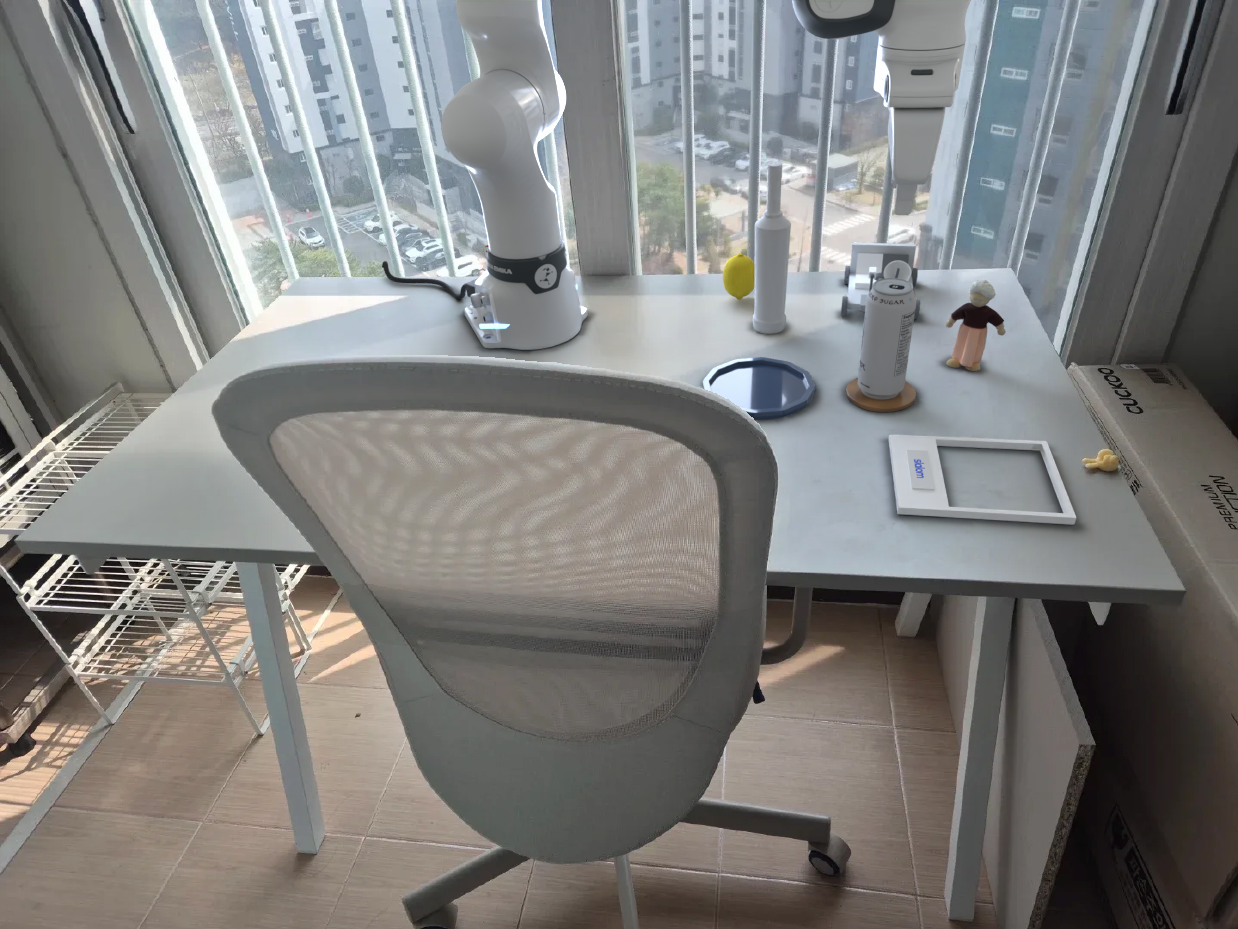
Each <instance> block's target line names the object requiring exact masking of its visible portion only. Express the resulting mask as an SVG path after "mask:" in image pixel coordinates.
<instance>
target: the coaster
mask: <svg viewBox="0 0 1238 929" xmlns="http://www.w3.org/2000/svg"><path fill="white" fill-rule="evenodd" d="M857 383H858V377H855V378H854V379H852V380H850V382H849V383H848V384H847V386H846V388H845V396H846V398H847V399H848V401H849V402H851V403H852V404H853V405H855V406H856V407H858V408H861V409H863V410H867V411H871V412H875V413H893V412H898V411H899V412H900V411H902V410H905V409H907V408H909V407H911V406H912V405H913V404H914V402H915V401H916V397H917V392H916V389H915V387H914V386H913V385H912V384H911V383H910V382H908V381H906V380H905V385H904V388H903V390H902V391H900V392H899V394H898V395H897V396H896V397H894V398H891V399H886V400H879V399H873V398H870V397H867V396H866V395H864V394H863V393H862V391H861V389H860V387H859V386H858V384H857Z"/></svg>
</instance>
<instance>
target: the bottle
mask: <svg viewBox="0 0 1238 929" xmlns="http://www.w3.org/2000/svg"><path fill="white" fill-rule="evenodd" d="M766 170H767V172H766V178H767V181H766V182H767V184H766V209H765V210H764V211H763V214H762V216H761V217H760V218H759V219H757V220H756V222H754V264H755V287H754V312H753V313H754V314H753V315H752V326H753V329H754V331H756V332H758V333H761V334H768V335H771V334H778V333H780V332H782V331H784V329H785V327H786V323H787V315H786V300H787V299H786V298H787V288H788V287H787V286H788V271H789V259H790V258H789V257H790V243H791V229H792V223H791V221H790V220H789V218H787V217H786V216H785V215H783V214H784V212H783V211H782V210H781V205H782V204H781V203H782V202H781V200H782V178H783V162H780V161H772V162H768V163H767V169H766Z"/></svg>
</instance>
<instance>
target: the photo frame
mask: <svg viewBox="0 0 1238 929" xmlns="http://www.w3.org/2000/svg"><path fill="white" fill-rule="evenodd" d="M939 446H940V447H957V448H960V447H961V448H979V449H999V450H1000V449H1001V450H1003V449H1004V450H1021V451H1023V450H1024V451H1039V452H1040V454H1041V457H1042V460H1043V462H1044V465H1045V467H1046V470H1047V473H1048V476H1049V478H1050V481H1051V485H1052V487H1053V489H1054V492H1055V495H1056V497H1057V500H1058V503H1059V505H1060V508H1061V511H1062V512H1061V513H1059V512H1047V511H1046V512H1044V511H1030V510H1029V511H1027V510H1014V509H1013V510H1010V509H993V508H977V507H976V508H975V507H959V506H950V505H949V499H948V495H947V489H946V485H945V480H944V474H943V470H942V464H941V460H940V459H941V458H940V455H939V450H938V447H939ZM888 447H889V448H888V449H889V455H890V456H889V457H890V463H891V464H890V465H891V471H892V481H893V489H894V496H895V497H894V498H895V505H896V511H897V513H896V514H897V515H907V516H908V515H909V516H923V517H941V518H954V519H955V518H956V519H973V520H974V519H975V520H989V521H990V520H991V521H1005V522H1006V521H1008V522H1021V523H1023V522H1024V523H1040V524H1056V525H1071V526H1073V525H1075V524H1076V522H1077V516H1076V513H1075V511H1074V507H1073V505H1072V503H1071V500H1070V497H1069V495H1068V492H1067V490H1066V487H1065V485H1064V482H1063V479H1062V478H1061V474H1060V472H1059V469H1058V467H1057V464H1056V462H1055V459H1054V456H1053V454H1052V452H1051V449H1050V446H1049V444H1048V441H1047V440H1028V439H1026V440H1025V439H1004V438H1003V439H1002V438H983V437H982V438H980V437H958V436H957V437H956V436H936V435H935V436H934V435H911V434H889V435H888Z"/></svg>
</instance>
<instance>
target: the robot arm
mask: <svg viewBox="0 0 1238 929" xmlns="http://www.w3.org/2000/svg"><path fill="white" fill-rule="evenodd" d="M971 1H972V0H791V2H792V8H793V11H794V13H795V14H794V15H795V17H796V18H797V20H798V22H799V24H800V25H801V26H802V28H804V29H805V30H806V31H807V32H808V33H810V34H811V35H813V36H815V37H817V38H820V39H825V40H833V41H834V40H836V41H837V40H844V39H848V38H851V37H853V36H859V35H864V34H867V33H874V34H877V36H878V41H877V42H878V43H877V49H876V50H877V51H876V52H877V53H876V60H875V61H876V62H875V70H874V79H873V90H874V92H875V93H878V94H879V95H880V96H881V97H882V98H883V102H882V103H883V106H884V107H885V108H886V109H888V113H889V116H888V123H887V140H888V148H889V157H890V165H891V166H890V167H891V181H890V183H891V186H892V188H893V189H896V190H895V198H894V211H893V212H894V214H895V215H897V216H909V215H910V214H911V213H912V208H913V204H914V198H915V195H916V192H917V189H918V185H921V186H922V185H926V184H927V183H928V181H929V178H930V176H931V173H932V171H933V167H934V163H935V159H936V156H937V151H938V148H939V142H940V138H941V134H942V131H943V130H942V129H943V126H944V120H945V114H946V108H951V107H952V106H953V104H954V100H955V93H956V91H958V89H959V85H960V77H961V71H962V66H963V59H964V54H965V47H966V40H967V34H966V33H967V32H966V23H965V22H966V15H967V12H968V9H969V5H970V4H971ZM454 2H455V9H456V12H455V13H456V17H457V20H458V23H459V25H460V26H461V28H462V29H463V30H464V31H465V32H466V33H467V35H468V37H469V39H470V41H471V43H472V46H473V49H474V52H475V55H476V59H477V62H478V66H479V77H478V78H476V79H474V80H471V81H469V82H468V83H466V84H463V86H461V88H459V90H457V92H456V93H455V94H454V95H453V96H452V98H451V99H450V100H449V102H448V103H447V105H446V106H445V108H444V110H443V112H442V116H441V121H440V122H441V123H440V126H441V127H440V129H441V134H442V135H441V136H442V138H443V142H444V144H445V146H446V148H447V150H448V151H449V152H450V154H451V155H452V156H453V158H455V159H456V160H457V162H459V163H460V164H462V165H463V166H465V168H466V170H467V171H468V174H469V175H470V177H471V181H472V182H473V184H474V187H475V190H476V192H477V195H478V198H479V201H480V205H481V209H482V210H481V211H482V215H483V222H484V227H485V232H486V238H487V243H488V244H487V245H485V248H487V250H485V253H486V256H485V259H486V260H485V262H486V270H485V271H484V272H483V273H482V274H481V275H480V276H479V277H477V278H474V279H473V280H470V281H467V282H465V283H463V285H462V286H461V287H460V292H459V293H458V292H456V290H454V288H452V287H451V285H449V283H446V282H445V281H442V280H440V279H436V278H426V277H425V278H423V277H421V278H416V277H415V278H414V277H413V278H411V277H410V278H406V277H397V276H394V275H393V274H392V273H391V272H390V268H389V263H388V261H387V260H384V261H383V262H382V264H381V268H382V269H383V271H384V274H385V276H386V277H387V279H389V280H390V281H392V282H395V283H398V284H411V285H412V284H413V285H414V284H417V285H418V284H421V285H422V284H425V285H426V284H428V285H436V286H439V287H442V288H443V289H445V290H446V292H448V293H449V294H450V295H451V296H453V297H454V298H455V299H458V300H462V299H464V298H466V296H467V297H468V298H469V299H470V303H471V304H469V305H467V306H466V307H465V308H464V316H465V318H466V320H467V321H468V323H469V325H470V326H471V328H472V330H473V331H474V333H475V335H476V336H477V339H478V340H479V342H480V343H481V345H482V347H483V348H485V349H511V350H520V351H522V350H523V351H526V350H527V351H530V350H532V351H533V350H540V349H547V348H551V347H555V346H558V345H561V344H563V343H566V342H567V341H569V340H571V339H573V338H574V337H576V336H577V334H579V332H580V331H581V329H582V324H583V321H584V320H586V319H587V317H588V316H589V312H588V308H587V307H584V306H582V305H581V301H580V295H579V291H578V290H579V289H578V288H579V287H578V286H579V285H578V284H577V279H576V274H575V271H574V270H573V269H571V268H570V267H568V266H567V265H568V261H567V255H568V254H567V249H566V246H565V241H564V240H563V239H562V235H561V226H560V216H559V207H558V200H557V199H558V198H557V193H556V190H555V188H554V186H553V185H551V183H549V182H548V181H547V179H546V177H545V174H544V172H543V169H542V167H541V163H540V160H539V156H538V148H537V147H538V142H539V141H541V140H542V139H544V138H545V137H546V136H548V135H549V134H550V133H551V132H552V131H553V130H554V129H555V127H556V126H557V124H558V123H559V121H560V120H561V117H562V115H563V112H564V111H565V107H566V103H567V93H566V87H565V85H564V82H563V79H562V77H561V76H560V74H559V73H558V71H557V70H556V68H555V65H554V62H553V58H552V54H551V50H550V46H549V42H548V37H547V34H546V29H545V24H544V17H543V8H542V7H543V6H542V0H454Z"/></svg>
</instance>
